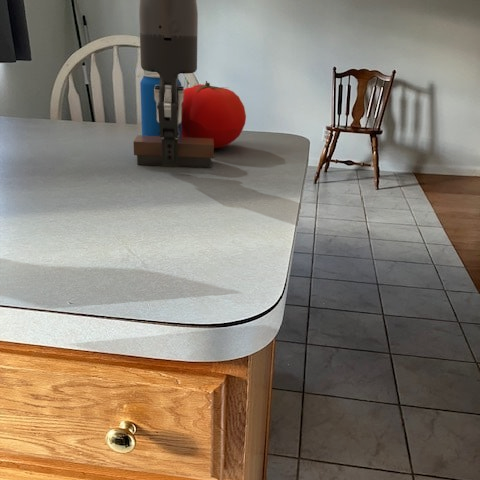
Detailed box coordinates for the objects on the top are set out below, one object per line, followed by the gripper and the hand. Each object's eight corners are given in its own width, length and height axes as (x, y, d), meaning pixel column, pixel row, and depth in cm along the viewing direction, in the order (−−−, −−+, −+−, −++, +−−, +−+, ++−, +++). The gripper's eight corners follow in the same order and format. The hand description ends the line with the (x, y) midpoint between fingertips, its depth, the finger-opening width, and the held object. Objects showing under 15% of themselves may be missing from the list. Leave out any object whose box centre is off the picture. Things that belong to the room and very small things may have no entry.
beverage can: (159, 158, 87) (158, 77, 81) (134, 151, 91) (131, 73, 85) (189, 153, 91) (189, 76, 85) (164, 147, 95) (163, 72, 89)
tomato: (168, 139, 101) (168, 77, 96) (232, 139, 104) (235, 79, 99) (182, 155, 90) (182, 86, 84) (253, 155, 93) (257, 88, 88)
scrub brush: (134, 165, 82) (133, 141, 81) (137, 157, 87) (137, 135, 85) (213, 168, 83) (213, 144, 82) (212, 160, 88) (213, 138, 86)
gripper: (143, 29, 76) (147, 154, 85) (135, 31, 65) (140, 176, 73) (197, 32, 77) (195, 156, 85) (197, 34, 65) (195, 178, 74)
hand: (170, 165), depth 79 cm, fingers closed
